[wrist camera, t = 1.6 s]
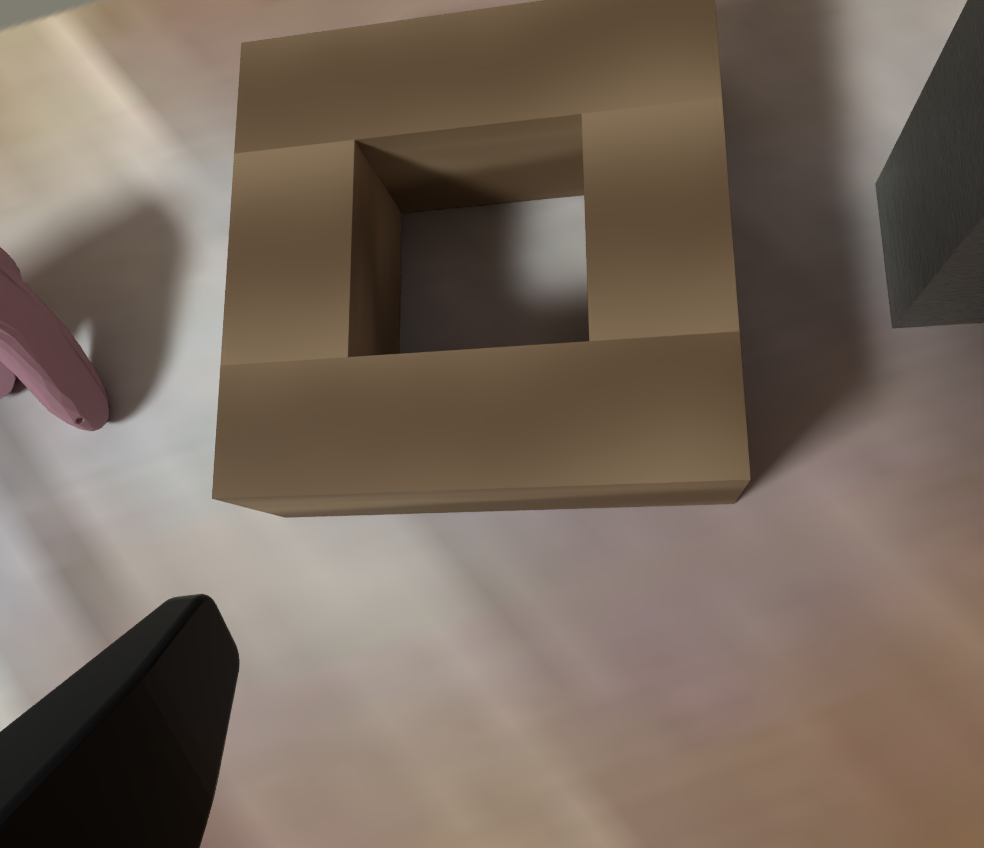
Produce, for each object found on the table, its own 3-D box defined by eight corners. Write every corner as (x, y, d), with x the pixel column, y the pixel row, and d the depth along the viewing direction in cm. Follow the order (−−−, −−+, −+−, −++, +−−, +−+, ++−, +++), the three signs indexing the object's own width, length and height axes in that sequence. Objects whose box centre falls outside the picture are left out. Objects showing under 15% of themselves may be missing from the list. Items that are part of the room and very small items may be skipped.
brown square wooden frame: (734, 503, 21) (750, 479, 18) (285, 517, 24) (212, 498, 20) (704, 78, 24) (712, -24, 20) (302, 126, 26) (241, 42, 22)
